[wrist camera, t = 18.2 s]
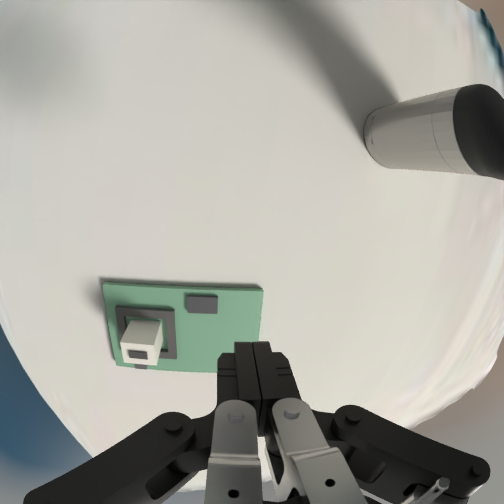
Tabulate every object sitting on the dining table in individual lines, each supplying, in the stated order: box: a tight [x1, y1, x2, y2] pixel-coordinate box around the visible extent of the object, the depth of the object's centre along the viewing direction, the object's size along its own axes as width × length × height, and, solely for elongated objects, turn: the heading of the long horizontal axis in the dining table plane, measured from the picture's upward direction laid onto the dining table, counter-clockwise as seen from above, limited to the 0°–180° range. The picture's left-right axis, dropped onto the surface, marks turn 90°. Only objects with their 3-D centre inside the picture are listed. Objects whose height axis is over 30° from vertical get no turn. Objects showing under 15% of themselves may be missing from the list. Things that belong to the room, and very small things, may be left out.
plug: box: [120, 319, 163, 369], centre depth 34 cm, size 4×4×6 cm
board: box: [103, 282, 263, 373], centre depth 37 cm, size 22×14×2 cm, turn 85°
